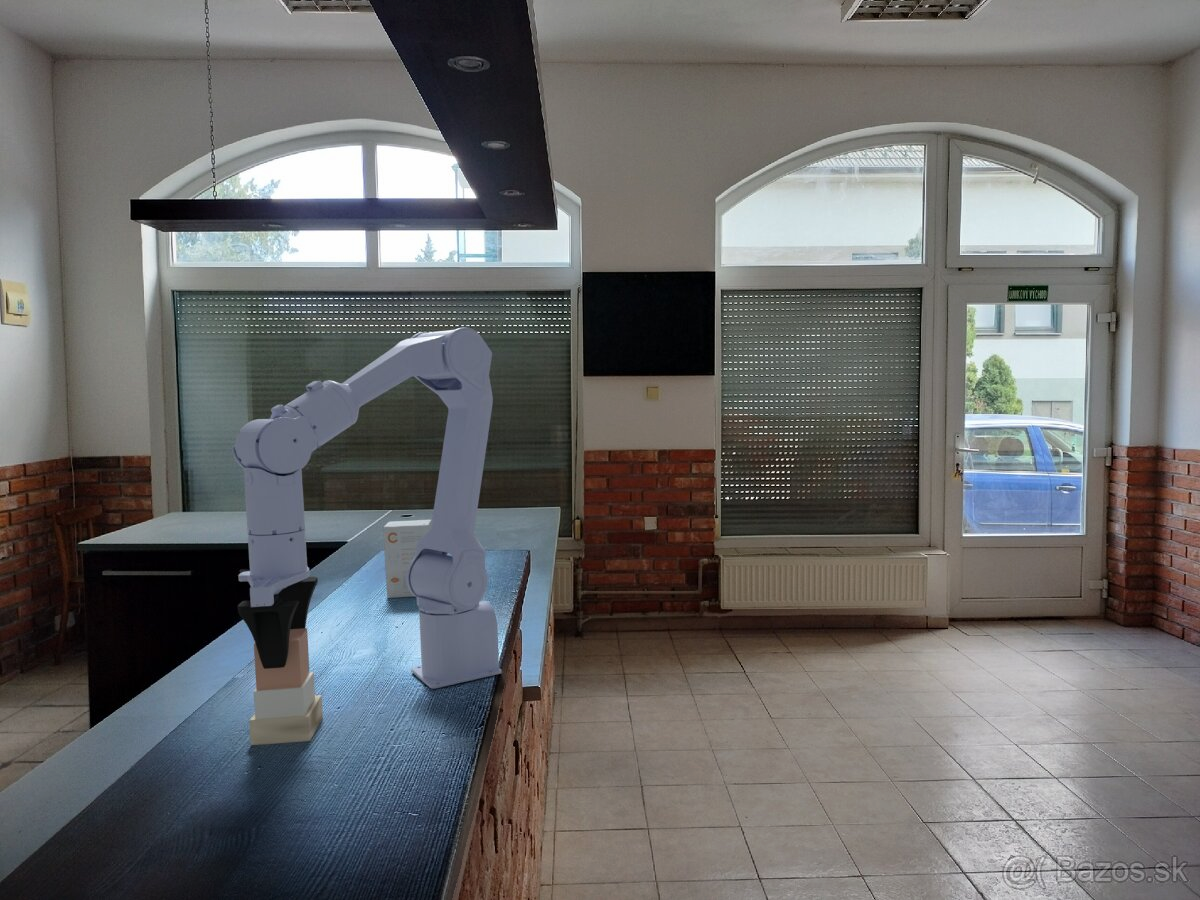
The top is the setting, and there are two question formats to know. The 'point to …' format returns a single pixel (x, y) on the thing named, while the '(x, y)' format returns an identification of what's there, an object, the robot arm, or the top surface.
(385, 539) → the small box
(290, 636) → the terracotta block
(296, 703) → the tower top slab
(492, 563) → the top surface
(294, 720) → the tower base slab
